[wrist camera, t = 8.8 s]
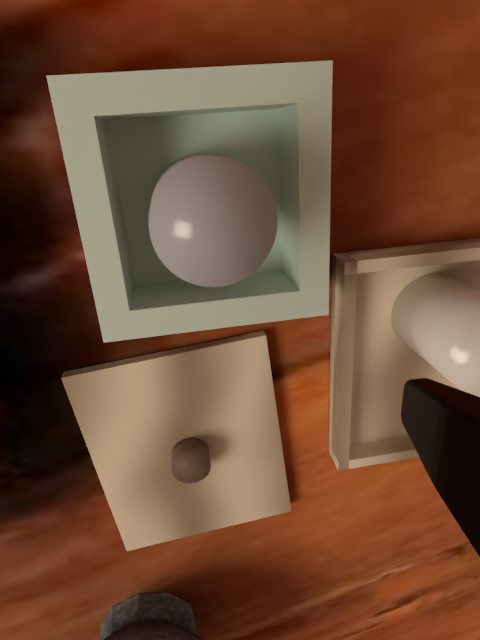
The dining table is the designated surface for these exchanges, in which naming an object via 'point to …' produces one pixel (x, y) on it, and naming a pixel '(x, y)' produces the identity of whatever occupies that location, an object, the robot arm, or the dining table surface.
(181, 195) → the grey rounded piece
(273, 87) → the sage bin
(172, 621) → the mortar and pestle
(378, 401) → the birch tray
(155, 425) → the tray lid
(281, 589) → the dining table surface
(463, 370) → the pale pebble
